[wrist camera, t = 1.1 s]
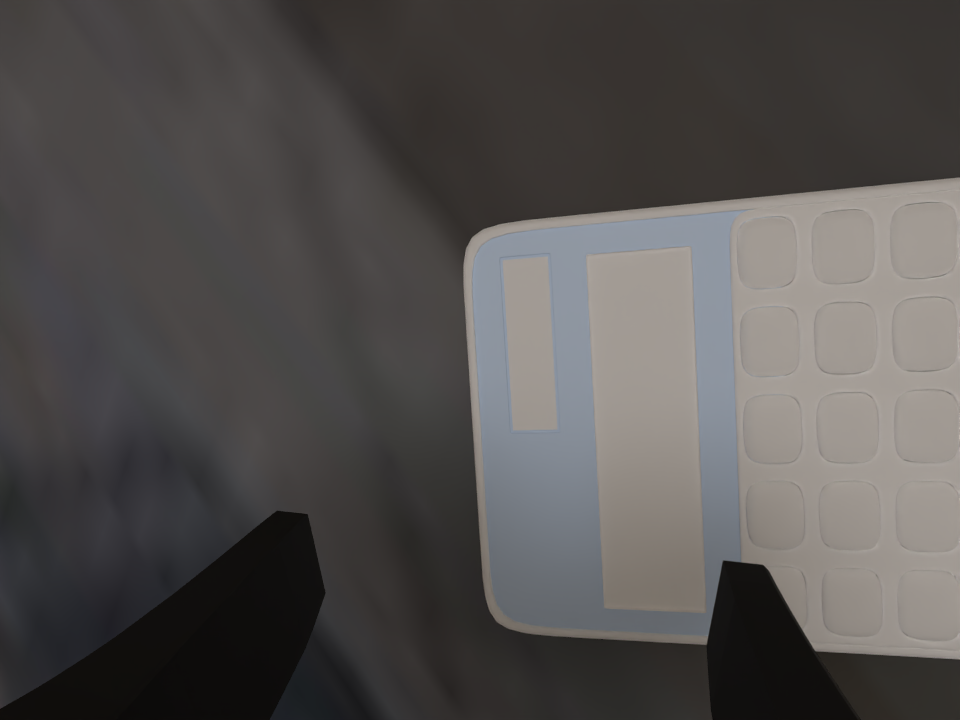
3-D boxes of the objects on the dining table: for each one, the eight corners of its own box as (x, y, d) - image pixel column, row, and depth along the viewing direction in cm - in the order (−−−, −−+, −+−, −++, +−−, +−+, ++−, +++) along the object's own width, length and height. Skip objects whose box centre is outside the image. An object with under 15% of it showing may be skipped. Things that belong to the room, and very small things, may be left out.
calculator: (1199, 649, 18) (1263, 689, 16) (493, 614, 23) (481, 641, 21) (1205, 159, 17) (1275, 141, 15) (469, 229, 22) (453, 223, 20)
